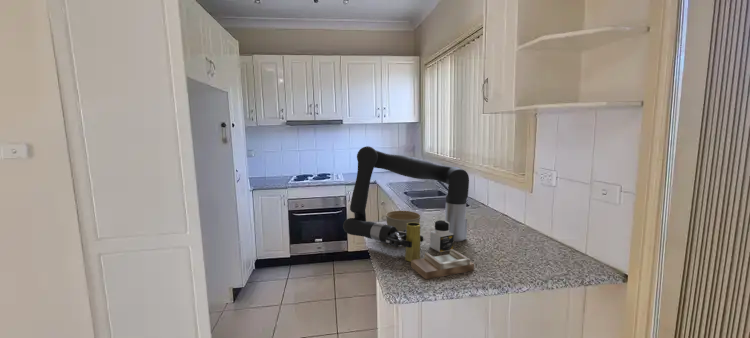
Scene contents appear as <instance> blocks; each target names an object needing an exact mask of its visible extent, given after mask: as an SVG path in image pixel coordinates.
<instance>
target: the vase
mask: <svg viewBox="0 0 750 338" xmlns="http://www.w3.org/2000/svg"><path fill="white" fill-rule="evenodd" d="M420 236H421V224H420V223H415V222H410V223H407V232H406V241H410V242H412V247H411V248H409V247H405V254H404V260H405V261H406V262H409V263H411V260H416V259H421V242H420Z"/></svg>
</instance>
